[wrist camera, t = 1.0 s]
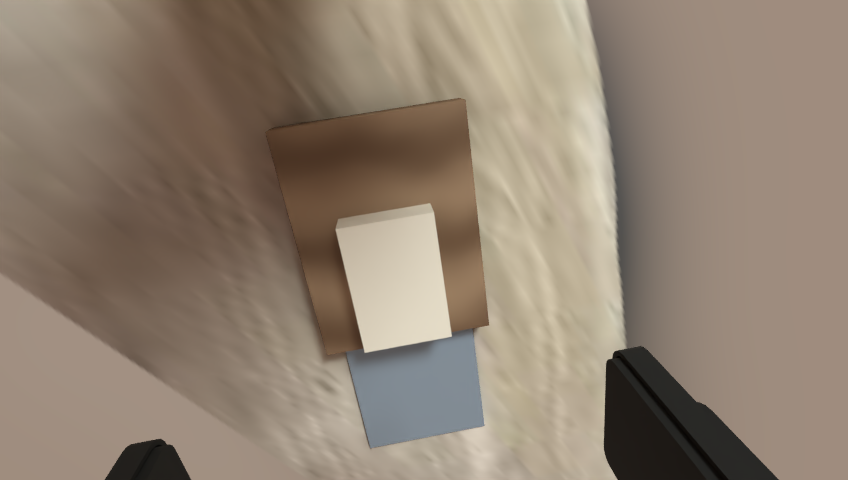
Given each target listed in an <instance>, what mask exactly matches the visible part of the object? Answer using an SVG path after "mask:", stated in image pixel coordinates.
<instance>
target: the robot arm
mask: <svg viewBox="0 0 848 480" xmlns="http://www.w3.org/2000/svg"><path fill="white" fill-rule="evenodd" d="M604 451H605V455H606V459H607V461H608V463H609V465H610V467H611V469H612V471H613V472H614V474H615V476H616V478H617V479H618V480H778V479H777V477H775V475H774V474H773V473H772V472H771V471H770V470H769V469H768V468H767V467H766V466H765V465H764V464H763V463H762V462H761V461H760V460H759V459H758V458H757V457H756V456H755V455H754V454H753V453H752V452H751V451H750V450H749V448H748V447H746V445H745V444H744V443H743V442H742V441H741V440H740V439H739V438H738V437H737V436H736V435H735V434H734V433H733V432H732V431H731V430H730V429H729V428H728V427H727V426H726V425H725V424H724V423H723V422H722V420H720V419H719V417H717V415H716V414H715V413H714V412H713V411H712V410H710V409H709V408H708V407H707V406H706V405H704V404H702V403H699V402H696V401H695V400H694V399H693V398H692V397H691V396H690V395H689V394H688V393H687V392H686V391H685V389H684V388H683V387H682V386H681V385H680V384H679V383H678V382H677V381H676V380H675V379H674V378H673V377H672V376H671V375H670V374H669V373H668V371H667V370H666V369H665V368H664V367H663V366H662V365H661V364H660V363H659V362H658V361H657V360H656V359H655V358H654V357H653V356H652V355H651V353H650V352H649V351H648V350H646V349H645V348H644V347H641V346H639V347H634V348H630V349H624V350H619V351H615V352H614V354H613V358H612V359H609V360H607V363H606V391H605V426H604ZM105 480H191V479H190V477H189V475H188V473H187V471H186V469H185V467H184V466H183V463H182V461H181V460H180V458H179V456H178V454H177V452H176V450H175V448H174V447H173V446H172V445H167V444H166V443H165V441H163V440H162V439H156V440H151V441H146V442H141V443H136V444H131V445H129V446H128V447H126V448H125V450H124V451H123V452H122V454H121V455H120V457H119V458H118V460H117V461H116V463H115V465H114V466H113V468H112V470H111V471H110V473H109V474H108V476H107V477H106V479H105Z"/></svg>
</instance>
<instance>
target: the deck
mask: <svg viewBox="0 0 848 480" xmlns="http://www.w3.org/2000/svg"><path fill="white" fill-rule="evenodd" d="M265 133H266V137H267V140H268V144H269V147H270V151H271V155H272V158H273V162H274V165H275V169H276V173H277V176H278V180H279V183H280V187H281V191H282V194H283V198H284V202H285V205H286V209H287V212H288V216H289V220H290V223H291V227H292V230H293V234H294V238H295V241H296V245H297V248H298V252H299V256H300V259H301V263H302V267H303V270H304V274H305V277H306V281H307V285H308V288H309V292H310V295H311V299H312V303H313V306H314V310H315V313H316V317H317V321H318V324H319V328H320V331H321V335H322V339H323V342H324V346H325V350H326V353H327V355H331V354H336V353H342V352H347V351H353V350H358V349H363V343H362V339H361V335H360V331H359V326H358V322H357V318H356V314H355V310H354V305H353V301H352V297H351V293H350V288H349V284H348V280H347V276H346V272H345V267H344V263H343V259H342V255H341V251H340V246H339V242H338V238H337V234H336V225H337V222H338V219H341V218H347V217H352V216H358V215H364V214H370V213H376V212H382V211H387V210H393V209H399V208H405V207H411V206H417V205H422V204H428V203H430V204H431V206H432V209H433V211H434V216H435V223H436V230H437V237H438V244H439V251H440V258H441V265H442V272H443V278H444V285H445V292H446V299H447V306H448V313H449V320H450V327H451V332H455V331H461V330H466V329H472V328H477V327H482V326H488V325H489V320H488V311H487V301H486V292H485V282H484V273H483V263H482V253H481V244H480V234H479V225H478V215H477V206H476V196H475V187H474V177H473V167H472V158H471V148H470V139H469V129H468V120H467V110H466V101H465V100H464V99H461V98H457V99H450V100H444V101H438V102H432V103H425V104H419V105H413V106H407V107H401V108H394V109H388V110H382V111H376V112H369V113H363V114H357V115H351V116H345V117H338V118H332V119H326V120H320V121H314V122H307V123H301V124H295V125H289V126H282V127H276V128H272V129H270V130H268V131H266V132H265Z"/></svg>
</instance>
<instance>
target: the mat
mask: <svg viewBox="0 0 848 480" xmlns="http://www.w3.org/2000/svg"><path fill="white" fill-rule="evenodd" d="M451 334H452V337H447V338H442V339H437V340H431V341H426V342H420V343H415V344H410V345H404V346H399V347H394V348H388V349H383V350H377V351H372V352H367V353H365V352H364V348H363V349H358V350H353V351H347V352H346V355H347V359H348V363H349V367H350V371H351V375H352V378H353V382H354V386H355V390H356V394H357V398H358V402H359V406H360V410H361V414H362V417H363V421H364V425H365V429H366V433H367V437H368V441H369V445H370V448H374V447H379V446H384V445H389V444H394V443H399V442H404V441H409V440H415V439H420V438H425V437H430V436H435V435H440V434H445V433H450V432H455V431H461V430H466V429H471V428H476V427H481V426H484V418H483V410H482V402H481V394H480V386H479V377H478V369H477V361H476V353H475V345H474V336H473V328H472V329H466V330H461V331H455V332H451Z"/></svg>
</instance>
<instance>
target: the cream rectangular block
mask: <svg viewBox="0 0 848 480" xmlns="http://www.w3.org/2000/svg"><path fill="white" fill-rule="evenodd" d="M336 234H337V238H338V242H339V246H340V251H341V255H342V259H343V263H344V267H345V272H346V276H347V280H348V284H349V288H350V293H351V297H352V301H353V305H354V310H355V314H356V318H357V322H358V326H359V331H360V335H361V339H362V343H363V348H364V352H365V353H367V352H372V351H377V350H383V349H388V348H394V347H399V346H404V345H410V344H415V343H420V342H426V341H431V340H437V339H442V338H447V337H452V334H451V327H450V320H449V313H448V306H447V299H446V292H445V285H444V278H443V272H442V265H441V258H440V251H439V244H438V237H437V230H436V223H435V216H434V211H433V209H432V206H431V204H430V203H428V204H422V205H417V206H411V207H405V208H399V209H393V210H387V211H382V212H376V213H370V214H364V215H358V216H352V217H347V218H341V219H338V222H337V225H336Z"/></svg>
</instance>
